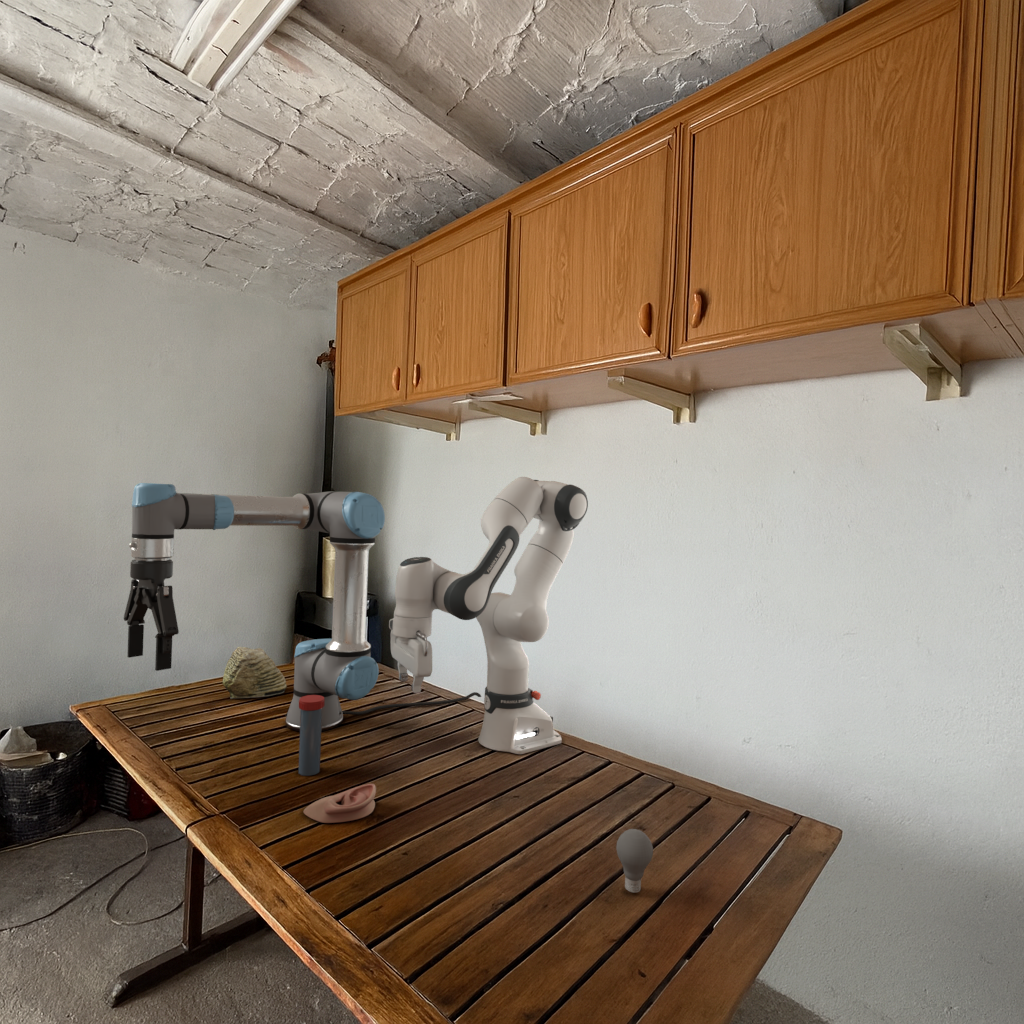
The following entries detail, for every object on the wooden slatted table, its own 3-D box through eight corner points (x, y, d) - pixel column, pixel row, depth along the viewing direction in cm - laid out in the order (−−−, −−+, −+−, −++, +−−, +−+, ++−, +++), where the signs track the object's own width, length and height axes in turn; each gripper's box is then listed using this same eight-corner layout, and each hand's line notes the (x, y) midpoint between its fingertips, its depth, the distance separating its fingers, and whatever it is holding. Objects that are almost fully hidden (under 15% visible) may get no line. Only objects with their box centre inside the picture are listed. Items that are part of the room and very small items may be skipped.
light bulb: (610, 879, 108) (613, 822, 108) (644, 879, 109) (647, 822, 109) (619, 902, 102) (622, 840, 102) (655, 901, 103) (658, 840, 103)
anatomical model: (295, 798, 124) (324, 774, 135) (295, 818, 124) (324, 792, 135) (358, 808, 121) (383, 782, 132) (358, 828, 121) (382, 801, 133)
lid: (297, 703, 147) (298, 695, 147) (322, 701, 149) (323, 693, 149) (299, 711, 142) (300, 703, 142) (325, 709, 144) (326, 701, 144)
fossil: (218, 695, 195) (220, 647, 195) (278, 685, 208) (279, 640, 207) (228, 703, 189) (230, 653, 188) (289, 692, 201) (290, 645, 201)
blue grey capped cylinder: (297, 768, 147) (300, 698, 147) (318, 765, 149) (321, 696, 149) (299, 776, 143) (301, 704, 142) (320, 774, 144) (323, 702, 144)
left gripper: (108, 554, 134) (104, 654, 134) (159, 565, 118) (155, 678, 119) (146, 552, 140) (143, 648, 140) (199, 563, 124) (195, 671, 124)
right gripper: (441, 635, 139) (437, 698, 140) (411, 618, 158) (409, 673, 158) (413, 637, 137) (410, 701, 137) (387, 619, 155) (384, 675, 155)
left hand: (148, 662), depth 129 cm, fingers open, 13 cm apart
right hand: (409, 686), depth 147 cm, fingers open, 8 cm apart
